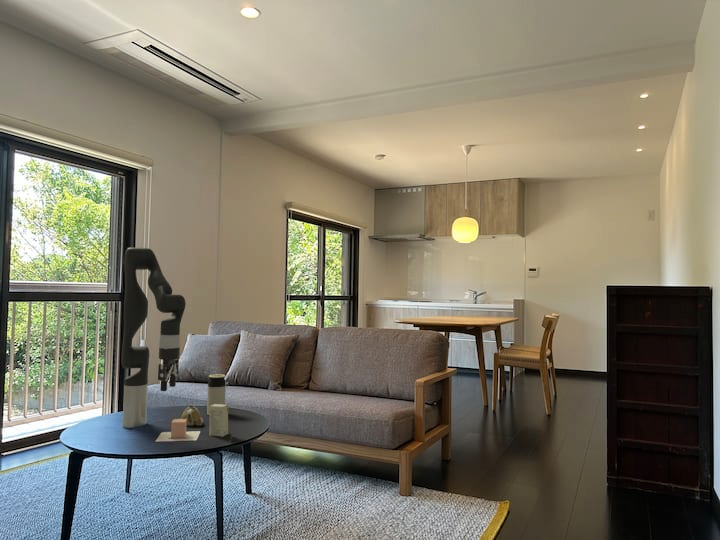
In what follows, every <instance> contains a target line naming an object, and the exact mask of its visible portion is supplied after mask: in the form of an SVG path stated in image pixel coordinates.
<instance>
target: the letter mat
mask: <svg viewBox="0 0 720 540" xmlns="http://www.w3.org/2000/svg"><path fill="white" fill-rule="evenodd" d="M200 433H201V431H200V430H197V431H193V430H192V431H186V436H185V438H171V431H162V432H161V433H160V434H159V436H158V437H157V438H156V440H155V441H154V442H156V443H157V442H158V443H159V442H183V441H186V442H187V441H189V442H190V441H191V442H192V441H197V440H198V438H199V436H200Z"/></svg>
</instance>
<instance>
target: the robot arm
mask: <svg viewBox="0 0 720 540" xmlns="http://www.w3.org/2000/svg"><path fill="white" fill-rule="evenodd" d="M139 270H140V271H143V270H147V271H149V272H150V274H149V275H148V279H147V284H148V288H149V289H150V291H151V292H152V294H153V297H154V299H155V304H156V305H155V306H156V309H157V310H158V311H159V312H161V313H162V314H170V313H171V316H170V317H168V318H164V319H162V320H161V322H160V330H159V331H160V335H159V336H160V337H159V342H158V343H159V344H158V359H159V360H162V363H159V364H158V369H157V370H158V374H157V380H158V381H160V392H167V390H168V385H169V387H170V388H174V387H176V384H177V383H176V381H177V378H176V377H177V376H178V375H179V372H180V371H179V367H180V363H179V359H180V358H181V357H180V356H181V355H180V354H181V353H180V352H181V338H180V337H181V336H180V334H181V332H180V331H181V323H182V318H183V316H184V313H185V309H186V299H185V297H184V296H183V295H182V294H173V288H172V286H171V284H170V282H169V281H168V280H167V279H166V277H165V276H164V274H163V271H162V269H161V266H160V264H159V261H158V258H157V256H156V254H155V253H154V251H153V249H151V248H149V247H127V248H126V250H125V252H124V281H125V283H124V285H125V286H124V287H125V288H124V303H123V305H124V307H123V338H122V345H121V348H122V349H121V357H120V359H121V360H120V361H121V366H122V368H123V369H140V370H139V371H137V372H136V373H134V374H132V375H129V376H126V377H125V378H124V380H123V383H124V384H123V403H122V405H123V408H122V409H123V410H122V427H124V428H129V429H134V428H135V427H141V426H144V425H147V414H148V413H147V412H148V409H147V408H148V388H149V387H148V386H149V385H148V382H149V380H148V379H149V364H150V349H149V347H148V346H144V345H142V346H141V345H137V346H135V345H134V346H133V345H132V341H133V339H134V337H135V336H136V334H137V332H138V331H139V329H140V328H141V327H142V326H143V324H144V323H145V321H146V320H147V317H148V313H149V312H148V310H149V299H148V297H147V296H146V294H145V291H143V289H142V288H141V286H140V284H139V281H138V279H137V271H139ZM131 345H132V346H131ZM168 380H169V384H168Z"/></svg>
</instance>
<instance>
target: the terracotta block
mask: <svg viewBox="0 0 720 540" xmlns="http://www.w3.org/2000/svg"><path fill="white" fill-rule="evenodd" d="M170 428H171V430H170V432H171V438H185V436H186V432H187V428H188V427H187V419H180V418H173V419H172V421H171V427H170Z"/></svg>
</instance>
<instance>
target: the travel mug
mask: <svg viewBox="0 0 720 540" xmlns="http://www.w3.org/2000/svg"><path fill="white" fill-rule="evenodd" d="M225 377H226V375H225V374H223V373H222V374H220V373H218V374H217V373H214V374H209V375H208V378H209V380H208V381H207V402H206V404H207V405H206V406H207V407H206V414H207V415H208V416H210V406H211V405H214V404H224V405H226V382H227V381H226V380H225Z"/></svg>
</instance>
